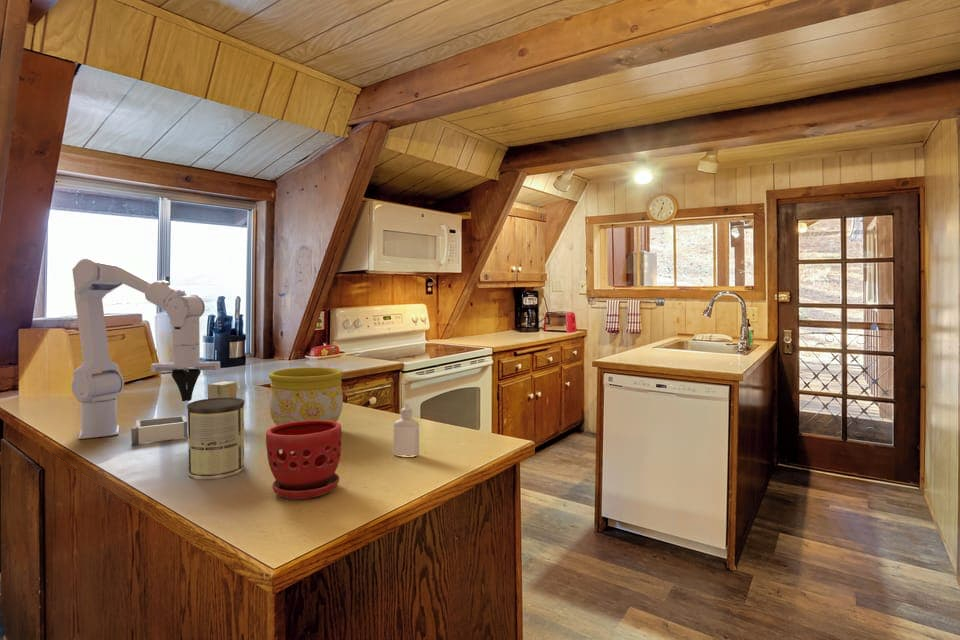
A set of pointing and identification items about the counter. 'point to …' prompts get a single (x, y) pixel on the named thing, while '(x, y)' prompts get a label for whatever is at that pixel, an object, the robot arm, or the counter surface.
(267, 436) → the plant pot
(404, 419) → the eye dropper bottle
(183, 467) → the counter surface
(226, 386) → the skincare box
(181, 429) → the cover
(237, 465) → the coffee can
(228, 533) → the counter surface
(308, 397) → the flowerpot
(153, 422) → the open grey tray
